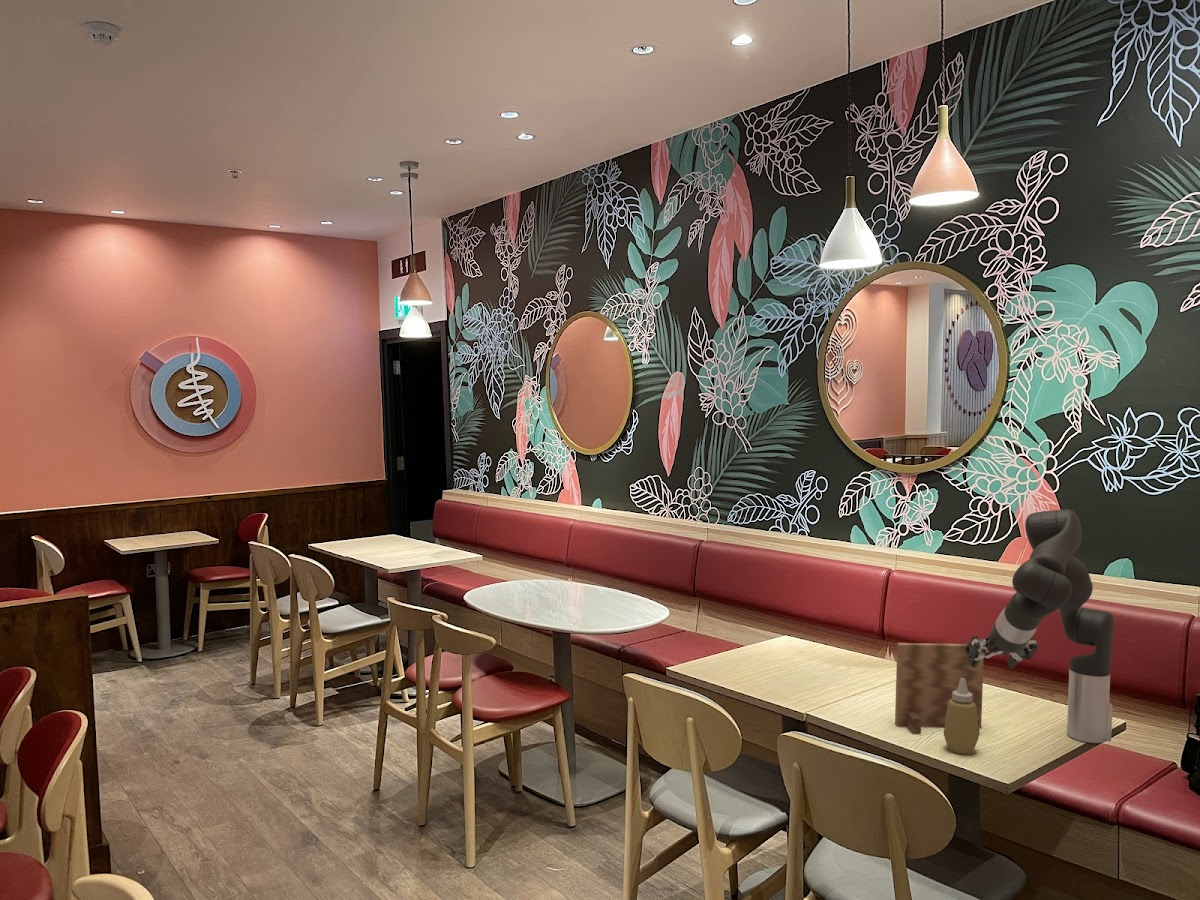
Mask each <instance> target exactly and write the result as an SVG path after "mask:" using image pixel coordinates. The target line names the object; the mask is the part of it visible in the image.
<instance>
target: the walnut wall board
mask: <svg viewBox="0 0 1200 900" xmlns="http://www.w3.org/2000/svg"><path fill="white" fill-rule="evenodd" d="M896 644H897V645H896V671H895V673H896V675H895V676H896V679H895V707H894V708H895V710H894V711H895V712H894V714H895V715H894V725H895V726H896V727H899V728H905V727H906V728H907V729H908V731H910V732H911V734H912V735H921V732H922V728H944V727H945V720H946V713H947V706H948V701H949V700H951V699H952V692H953V691H956V690H957V689H958V685H959V682H960V678H965V679H966V685H967V690H968V692H970V693H971V694H972V702H974V703H975V704H976V709H977V722H978V736H980V729H982V717H983V716H982V715H983V714H982V713H983V689H984V688H983V685H984V684H983V682H984V681H983V680H984V659H985V658H983V659H981V660H980V662H979V663H978V665H977V667H976V668H972V666H971V665H970V662H969V659H968V658H967V654H966V651H965V647H966V646H967V644H968V643H938V642H937V643H936V642H935V643H929V642H927V643H925V642H920V643H919V642H915V643H914V642H910V643H909V642H897V643H896ZM981 653H982V651H979V655H980V654H981Z"/></svg>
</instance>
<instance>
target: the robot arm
mask: <svg viewBox="0 0 1200 900" xmlns="http://www.w3.org/2000/svg"><path fill="white" fill-rule="evenodd" d="M1024 522H1025V523H1024V528H1025V534H1026V538H1027V541H1028V543H1029V544H1030V547H1031V548H1032V552H1031V553H1030V555H1029V559H1028V560H1026V561H1025V562H1023V563H1022V564H1021V565H1019V567H1018V568H1017V569H1016V570H1015V572H1014V574H1013V576H1012V580H1011V581H1012V587H1013V589H1014V590H1015V593H1014V594H1013V595H1012V596H1011V598H1010V600H1009V601H1008V603H1007V605H1006V606H1005V607H1004V608H1003V610H1002V611H1001V612H1000V614H999V615H998V617H997V618H996V620H995V621H994V623H993V624H992V627H991V629H990V631H989V635H988V636H987V637H985V638H984V639H981V638H980V639H979V638H978V636H977V635H973V636H971V638H970V639H969V641H968V642H967V643H966V644H967V646H966V647H965V651H966V654H967V658H968V659H969V662H970V665H971V666H972V668H976V667H977V665H978V663H979V662H980V660H981V659H983V658H984V659H990V658H991V657H993V656H999V655H1003V656H1008V658H1007V659H1006V663H1007V666H1008V668H1009V669H1014V667H1016V666H1018V664H1019V662H1021V661H1023V659H1025V660H1026V661H1030V660H1032V658H1033V657H1034V656H1035V654H1036V652H1037V651H1038V649H1039V645H1038V643H1037V639H1036V637H1034V635H1035V633H1036V632H1037V629H1038V626H1039V625H1040V624H1041V622H1042V620H1043V619H1044V618H1046V617H1047V616H1048V615H1050V614H1052V613H1054V612H1055V611H1059V615H1060V619H1061V623H1062V627H1063V631H1064V634H1065V636H1066V638H1067V639H1068V640H1069V641H1070V642H1072V643H1075V644H1079V645H1080V644H1081V645H1085V646H1091V647H1095V648H1094V651H1093V652H1091V653H1088V654H1080V655H1074V656H1072V657H1071V658H1070V659H1069V667H1068V669H1069V670H1068V695H1067V697H1068V698H1067V716H1066V717H1067V719H1066V720H1067V722H1066V734H1067V736H1068V735H1069V736H1068V737H1069V738H1071V737H1072V738H1071V739H1074V740H1076V741H1080V742H1084V743H1088V744H1089V743H1090V744H1103V743H1106V742H1111V741H1112V730H1113V729H1112V728H1113V727H1112V725H1113V708H1114V706H1113V704H1112V703H1110V688H1111V668H1112V667H1111V666H1112V657H1113V653H1112V652H1113V642H1114V634H1115V620H1114V617H1113V615H1112V613H1111V612H1110V611H1105V610H1099V609H1092V608H1086V607H1082V606H1083V605H1085V604H1086V602H1088V600H1089V599H1090V598H1091V596H1092V594H1093V589H1094V588H1093V586H1094V585H1093V581H1092V579H1091V576H1090V573H1089V571H1088V569H1087V567H1086V565H1085V564H1084V563H1083V562H1082V561H1081V560H1079V559H1078V558H1076V557H1075V556H1074V554H1075V552H1076V551H1077V550H1078V549H1079V548H1080V546H1081V543H1082V539H1083V536H1082V535H1083V532H1082V525H1081V522H1080V518H1079V516H1078V514H1077V513H1076V511H1074V510H1072V509H1052V510H1044V511H1037V512H1032V513H1030V514H1028V515H1027V517H1026V519H1025V521H1024ZM979 651H982V653H981V654H980V655H979Z"/></svg>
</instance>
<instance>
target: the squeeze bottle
mask: <svg viewBox="0 0 1200 900" xmlns="http://www.w3.org/2000/svg"><path fill="white" fill-rule="evenodd" d="M943 728H944V729H943V736H944V740H945V743H946V746H947V749H948V750H949V751H950V752H953V753H955V754H962V755H968V754H969V755H970V754H972V753H973V752H974V751H975V748H976V745H977V743H978V741H979V736H980V735H978V722H977V709H976V704H975V703H974V702H972V694H971V693H970V692H968V690H967V685H966V679H965V678H960V682H959V685H958V689H957V690H956V691H953V692H952V699H951V700H949V701H948V706H947V713H946V720H945V727H943Z"/></svg>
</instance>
